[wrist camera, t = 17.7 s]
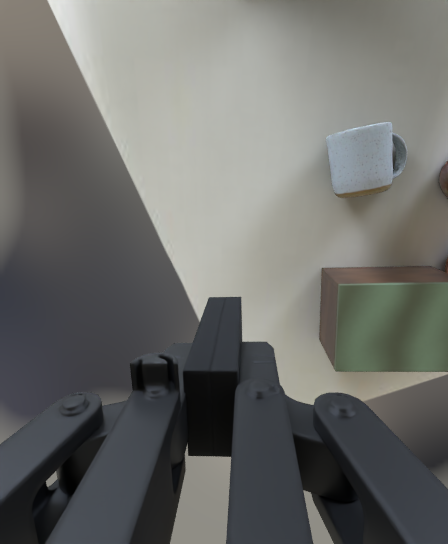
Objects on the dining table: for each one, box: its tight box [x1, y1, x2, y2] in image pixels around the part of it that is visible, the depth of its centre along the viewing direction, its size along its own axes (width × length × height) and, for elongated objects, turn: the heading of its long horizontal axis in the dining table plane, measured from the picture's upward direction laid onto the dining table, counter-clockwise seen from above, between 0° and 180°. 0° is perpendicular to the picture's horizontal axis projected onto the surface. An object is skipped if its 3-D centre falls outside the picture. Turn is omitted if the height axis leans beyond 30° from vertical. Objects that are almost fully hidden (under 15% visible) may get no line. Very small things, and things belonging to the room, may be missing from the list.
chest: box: [319, 266, 448, 367], centre depth 46 cm, size 16×12×9 cm
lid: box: [334, 282, 448, 372], centre depth 41 cm, size 16×12×1 cm
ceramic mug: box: [326, 122, 407, 198], centre depth 42 cm, size 11×8×8 cm
